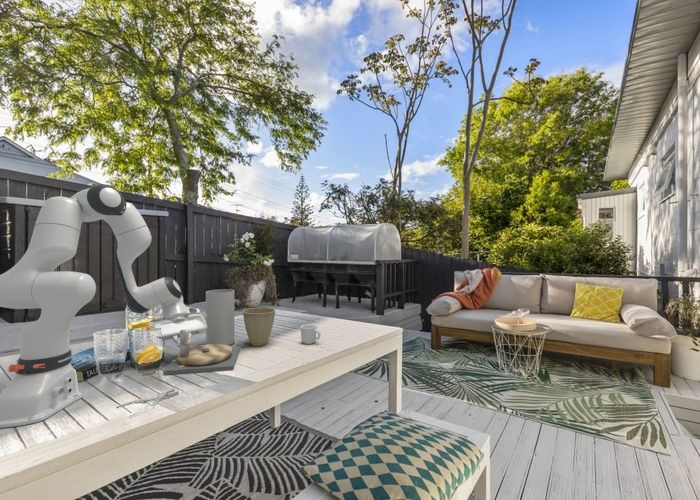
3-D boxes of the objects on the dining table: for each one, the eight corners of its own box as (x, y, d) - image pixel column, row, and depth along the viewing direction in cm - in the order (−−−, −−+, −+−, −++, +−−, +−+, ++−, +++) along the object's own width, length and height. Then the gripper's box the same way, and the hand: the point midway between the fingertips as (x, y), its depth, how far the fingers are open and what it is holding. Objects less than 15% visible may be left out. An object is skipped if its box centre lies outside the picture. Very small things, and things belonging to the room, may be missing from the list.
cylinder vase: (221, 338, 168) (221, 288, 167) (240, 341, 162) (239, 290, 162) (200, 345, 156) (199, 292, 156) (219, 349, 151) (219, 293, 150)
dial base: (233, 369, 126) (233, 365, 126) (163, 375, 121) (163, 370, 121) (239, 350, 150) (239, 346, 150) (181, 353, 144) (181, 349, 144)
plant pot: (264, 350, 150) (264, 314, 149) (236, 346, 155) (236, 312, 154) (281, 341, 164) (281, 308, 164) (255, 338, 169) (255, 306, 168)
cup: (325, 342, 161) (325, 326, 161) (314, 347, 154) (314, 329, 154) (307, 339, 167) (307, 323, 167) (296, 343, 160) (296, 326, 160)
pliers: (115, 403, 97) (168, 385, 109) (115, 408, 97) (168, 390, 109) (130, 413, 92) (184, 393, 104) (130, 419, 92) (184, 398, 104)
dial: (219, 345, 149) (219, 318, 149) (240, 356, 135) (240, 326, 135) (170, 356, 135) (170, 326, 135) (188, 369, 121) (188, 336, 121)
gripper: (148, 315, 129) (156, 347, 123) (203, 308, 143) (212, 336, 137) (145, 324, 133) (153, 355, 126) (199, 316, 147) (208, 344, 140)
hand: (184, 345), depth 132 cm, fingers closed
